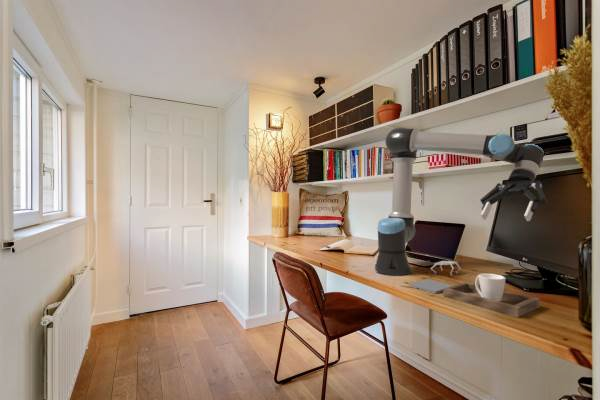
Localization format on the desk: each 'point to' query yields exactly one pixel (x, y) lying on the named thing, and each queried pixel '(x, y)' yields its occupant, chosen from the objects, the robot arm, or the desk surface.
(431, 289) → the grey mat
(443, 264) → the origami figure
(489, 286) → the cup
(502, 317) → the desk surface
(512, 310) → the tray
